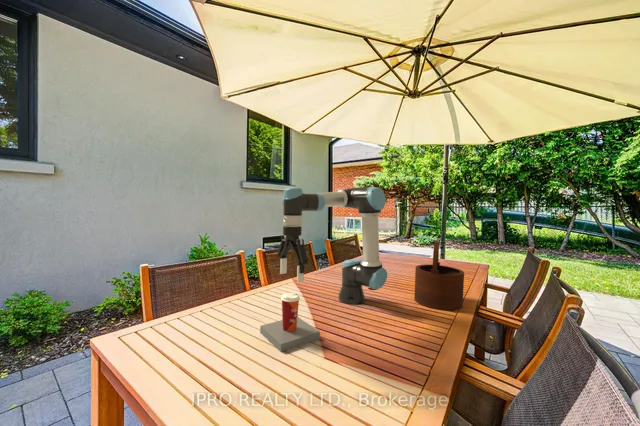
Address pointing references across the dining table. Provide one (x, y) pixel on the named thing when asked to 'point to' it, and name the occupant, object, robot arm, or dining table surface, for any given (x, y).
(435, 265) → the wooden bucket
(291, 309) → the paper cup
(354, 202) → the robot arm
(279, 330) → the slate tile
